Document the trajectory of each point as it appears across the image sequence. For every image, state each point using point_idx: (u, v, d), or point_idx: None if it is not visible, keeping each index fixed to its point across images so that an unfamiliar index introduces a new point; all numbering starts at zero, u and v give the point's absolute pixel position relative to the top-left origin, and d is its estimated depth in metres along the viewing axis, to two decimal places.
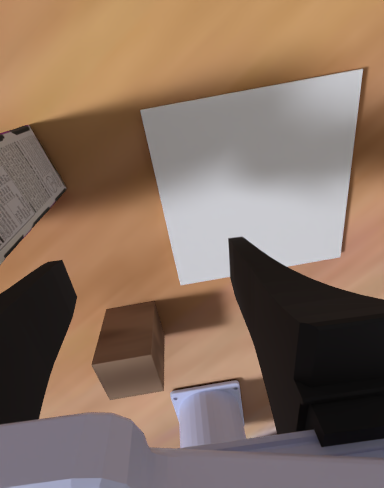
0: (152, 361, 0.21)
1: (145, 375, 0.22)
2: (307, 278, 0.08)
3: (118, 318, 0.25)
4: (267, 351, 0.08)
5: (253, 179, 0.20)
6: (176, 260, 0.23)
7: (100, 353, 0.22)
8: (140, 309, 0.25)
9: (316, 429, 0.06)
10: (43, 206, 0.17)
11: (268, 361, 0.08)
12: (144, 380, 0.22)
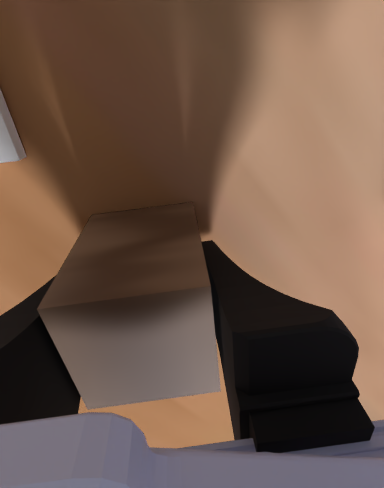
0: (67, 307, 0.07)
1: (131, 323, 0.08)
2: (261, 284, 0.08)
3: None
4: (224, 357, 0.08)
5: None
6: None
7: None
8: None
9: (253, 437, 0.06)
10: None
11: (225, 367, 0.08)
12: (152, 328, 0.08)
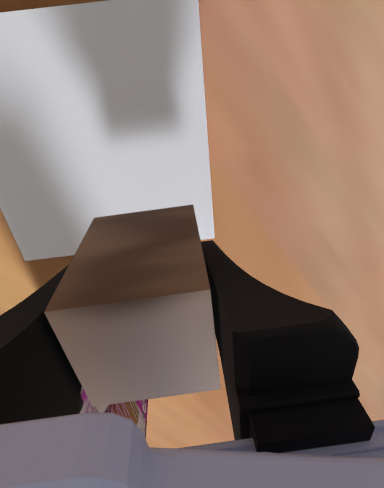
0: (73, 309, 0.08)
1: (134, 325, 0.08)
2: (261, 284, 0.08)
3: None
4: (224, 357, 0.08)
5: (74, 157, 0.17)
6: None
7: None
8: None
9: (253, 437, 0.06)
10: None
11: (225, 367, 0.08)
12: (155, 329, 0.08)
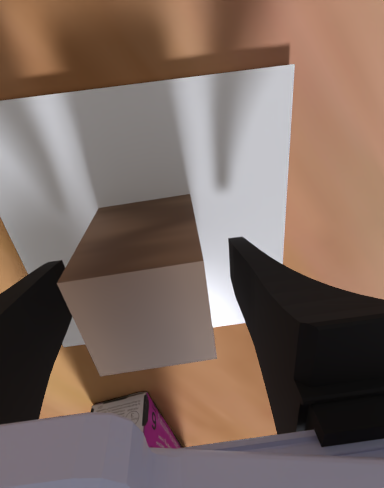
0: (82, 281, 0.09)
1: (137, 296, 0.09)
2: (307, 278, 0.08)
3: None
4: (267, 351, 0.08)
5: None
6: (239, 322, 0.18)
7: None
8: None
9: (316, 429, 0.06)
10: None
11: (268, 361, 0.08)
12: (155, 299, 0.09)
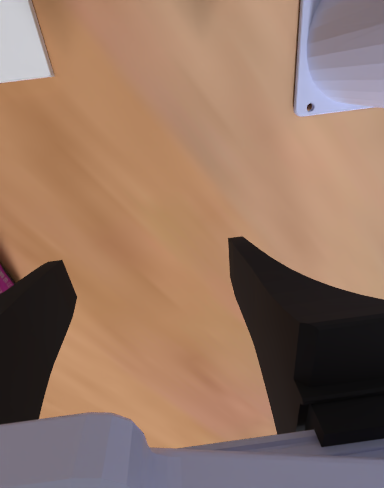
0: None
1: None
2: (307, 278, 0.08)
3: None
4: (267, 351, 0.08)
5: None
6: (6, 78, 0.17)
7: None
8: None
9: (315, 429, 0.06)
10: None
11: (268, 361, 0.08)
12: None
